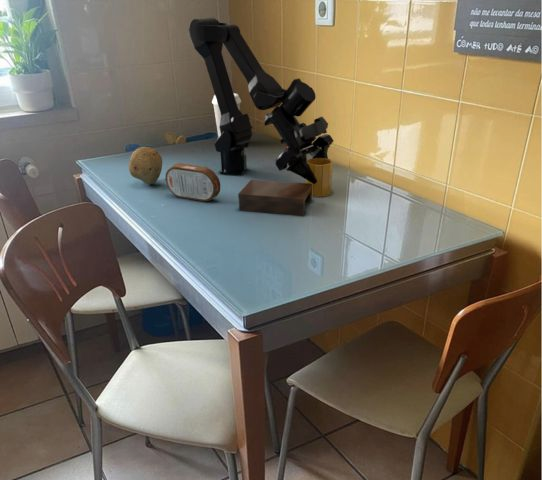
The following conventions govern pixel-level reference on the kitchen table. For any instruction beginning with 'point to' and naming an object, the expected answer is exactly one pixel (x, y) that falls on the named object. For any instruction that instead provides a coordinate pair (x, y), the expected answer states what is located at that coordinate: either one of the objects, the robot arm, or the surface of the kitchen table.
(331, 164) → the cup
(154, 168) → the potato
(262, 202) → the brown wooden board
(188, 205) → the kitchen table surface
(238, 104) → the coffee cup
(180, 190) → the tin
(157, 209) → the kitchen table surface
